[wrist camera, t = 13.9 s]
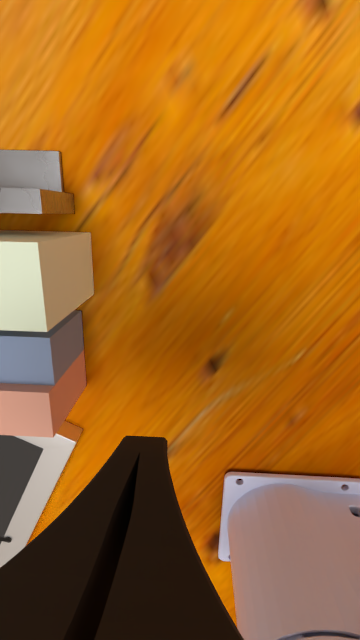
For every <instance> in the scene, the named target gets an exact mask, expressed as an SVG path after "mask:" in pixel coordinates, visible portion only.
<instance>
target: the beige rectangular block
mask: <svg viewBox="0 0 360 640" xmlns="http://www.w3.org/2000/svg"><path fill="white" fill-rule="evenodd" d="M92 295H94V282H93V265H92V248H91V232H57V231H20V230H0V330H8V331H35V332H48V331H49V330H50V329H52V328H53V327H54V326H55V325H56V324H58V323H59V322H60V321H61V320H63V319H64V318H65V317H66V316H68V315H69V314H70V313H71V312H73V311H74V310H75V309H76V308H78V307H79V306H80V305H81V304H83V303H84V302H85V301H86V300H87V299H89V298H90V297H91V296H92Z"/></svg>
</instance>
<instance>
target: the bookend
mask: <svg viewBox="0 0 360 640" xmlns="http://www.w3.org/2000/svg"><path fill="white" fill-rule="evenodd" d="M0 213H27V214H75V212H74V198H73V194H71V193H64V187H63V174H62V162H61V152H59V151H27V150H0Z"/></svg>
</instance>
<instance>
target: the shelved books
mask: <svg viewBox="0 0 360 640" xmlns="http://www.w3.org/2000/svg"><path fill="white" fill-rule="evenodd" d="M85 387H86V370H85V356H84V342H83V327H82V313H81V311H79V310H74V311H73V312H71V313H70V314H69V315H68V316H66V317H65V318H64V319H63V320H61V321H60V322H59V323H58V324H56V325H55V326H54V327H53V328H52V329H50V330H49V331H48V332H35V331H8V330H0V435H12V436H31V437H50V438H54V436H55V434H56V433H57V431H58V430H59V428H60V427H61V425H62V423H63V422H64V420H65V419H66V417H67V415H68V414H69V412H70V411H71V409H72V407H73V406H74V404H75V403H76V401H77V400H78V398H79V396H80V395H81V393H82V392H83V390H84V388H85Z"/></svg>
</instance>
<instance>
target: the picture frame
mask: <svg viewBox="0 0 360 640" xmlns="http://www.w3.org/2000/svg"><path fill="white" fill-rule="evenodd" d="M82 431H83V429H82V428H80V427H78V426H76V425H73V424H71V423H69V422H67V421H64V422H63V423H62V425H61V427H60V428H59V430H58V431H57V433H56V434H55V436H54V438H50V437H31V436H12V435H0V567H2V566H3V565H4V564H5V563H7V562H8V561H9V560H10V559H11V558H13V557H14V556H15V555H16V554H17V553H19V552H20V551H21V550H22V549H23V548H24V547H25V546H26V544H27V542H28V540H29V538H30V536H31V534H32V532H33V530H34V528H35V526H36V524H37V522H38V520H39V518H40V516H41V514H42V512H43V510H44V508H45V506H46V504H47V502H48V500H49V498H50V496H51V494H52V492H53V490H54V487H55V485H56V483H57V481H58V479H59V477H60V475H61V473H62V471H63V469H64V467H65V465H66V463H67V461H68V459H69V457H70V455H71V453H72V451H73V449H74V447H75V445H76V443H77V441H78V439H79V437H80V435H81V433H82Z"/></svg>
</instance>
